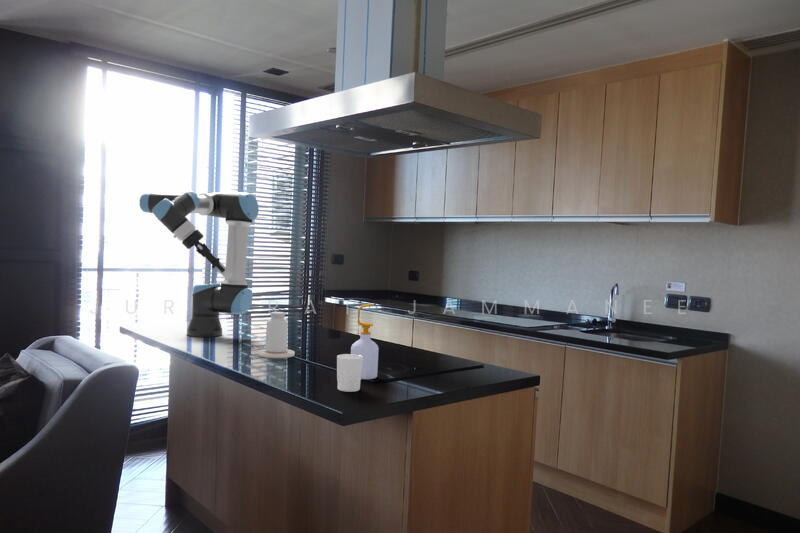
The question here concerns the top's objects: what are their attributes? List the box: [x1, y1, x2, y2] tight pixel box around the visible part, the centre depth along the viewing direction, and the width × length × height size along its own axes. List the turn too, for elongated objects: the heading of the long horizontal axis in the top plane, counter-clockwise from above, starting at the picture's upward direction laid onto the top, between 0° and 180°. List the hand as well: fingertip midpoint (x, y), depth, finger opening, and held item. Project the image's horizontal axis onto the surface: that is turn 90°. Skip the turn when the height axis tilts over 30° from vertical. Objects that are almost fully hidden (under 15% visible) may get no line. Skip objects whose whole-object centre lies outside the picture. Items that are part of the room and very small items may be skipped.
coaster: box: [257, 348, 296, 359], centre depth 224 cm, size 14×14×1 cm
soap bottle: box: [350, 302, 380, 380], centre depth 194 cm, size 9×9×25 cm
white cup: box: [336, 353, 363, 393], centre depth 176 cm, size 8×8×10 cm
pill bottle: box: [265, 311, 289, 353], centre depth 224 cm, size 8×8×15 cm
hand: (229, 276), depth 222 cm, fingers open, 13 cm apart
